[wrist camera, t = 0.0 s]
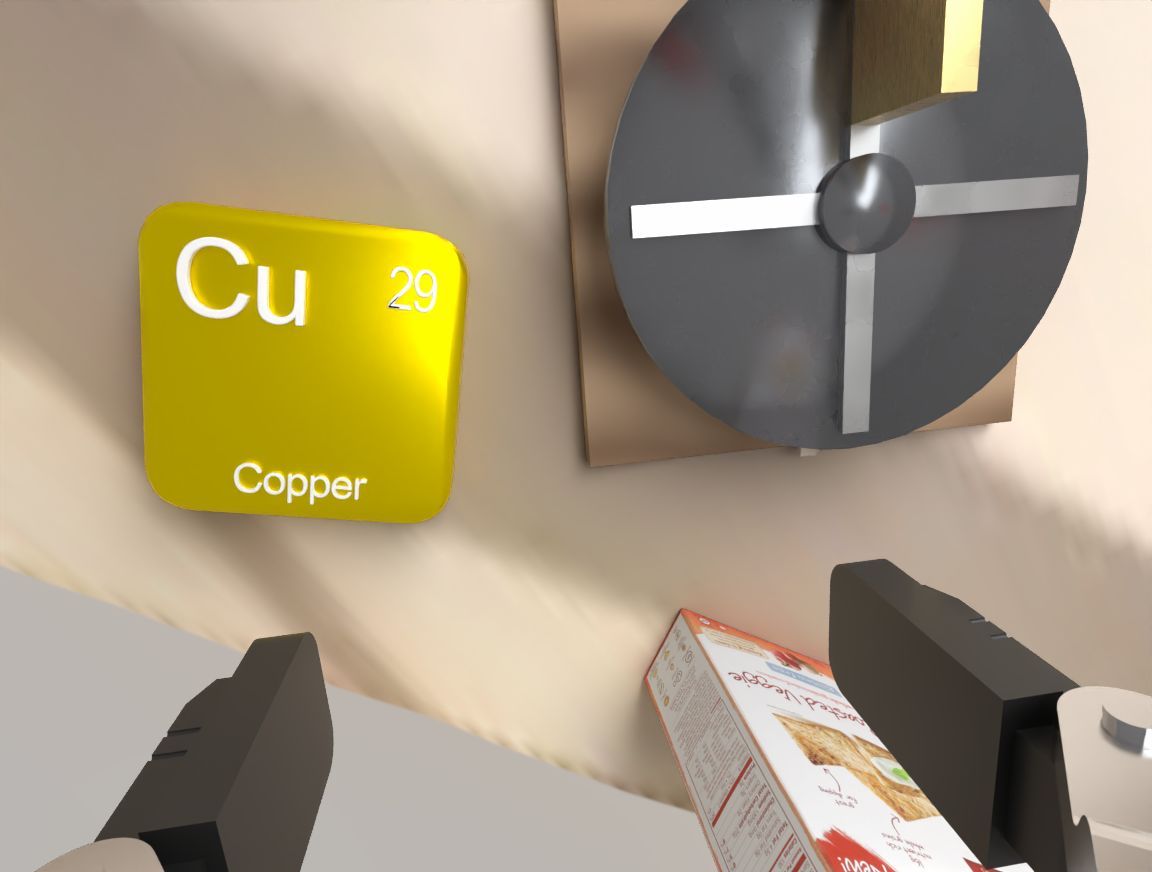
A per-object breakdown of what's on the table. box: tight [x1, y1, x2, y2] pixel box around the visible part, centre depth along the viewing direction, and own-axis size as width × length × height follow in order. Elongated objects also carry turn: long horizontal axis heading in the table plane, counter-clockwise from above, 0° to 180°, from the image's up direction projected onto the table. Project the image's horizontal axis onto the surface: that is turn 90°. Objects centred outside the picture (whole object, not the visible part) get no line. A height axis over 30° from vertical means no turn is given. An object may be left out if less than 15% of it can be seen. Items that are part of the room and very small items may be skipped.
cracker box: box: [644, 609, 1034, 872], centre depth 36 cm, size 14×6×21 cm, turn 64°
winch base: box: [553, 0, 1050, 467], centre depth 36 cm, size 27×26×5 cm
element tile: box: [138, 202, 470, 524], centre depth 36 cm, size 15×15×5 cm
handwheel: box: [604, 0, 1088, 450], centre depth 30 cm, size 24×24×8 cm
